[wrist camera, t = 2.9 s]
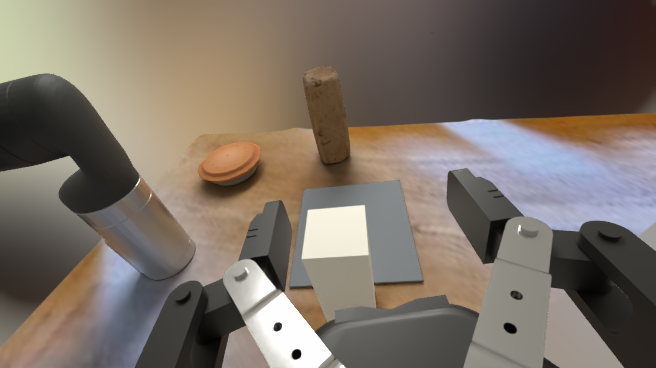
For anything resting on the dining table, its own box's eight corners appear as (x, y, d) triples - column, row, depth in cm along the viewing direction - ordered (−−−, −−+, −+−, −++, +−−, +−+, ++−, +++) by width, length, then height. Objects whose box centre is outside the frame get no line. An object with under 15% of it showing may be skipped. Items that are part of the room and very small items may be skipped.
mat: (289, 287, 43) (288, 286, 42) (304, 190, 59) (304, 189, 59) (422, 281, 40) (423, 280, 39) (399, 181, 56) (399, 180, 56)
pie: (276, 155, 72) (270, 139, 68) (243, 196, 61) (235, 179, 58) (229, 151, 77) (221, 136, 74) (192, 188, 67) (181, 172, 64)
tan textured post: (353, 161, 64) (342, 75, 51) (322, 169, 64) (302, 85, 51) (343, 138, 72) (331, 59, 59) (316, 144, 72) (297, 67, 59)
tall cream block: (332, 335, 36) (301, 259, 25) (334, 292, 41) (308, 209, 29) (378, 334, 35) (368, 254, 24) (374, 290, 40) (364, 205, 28)
